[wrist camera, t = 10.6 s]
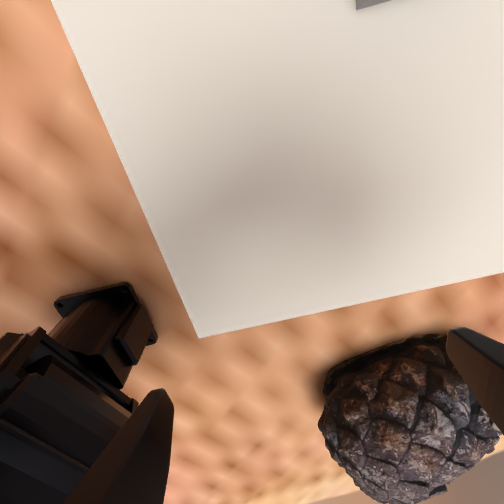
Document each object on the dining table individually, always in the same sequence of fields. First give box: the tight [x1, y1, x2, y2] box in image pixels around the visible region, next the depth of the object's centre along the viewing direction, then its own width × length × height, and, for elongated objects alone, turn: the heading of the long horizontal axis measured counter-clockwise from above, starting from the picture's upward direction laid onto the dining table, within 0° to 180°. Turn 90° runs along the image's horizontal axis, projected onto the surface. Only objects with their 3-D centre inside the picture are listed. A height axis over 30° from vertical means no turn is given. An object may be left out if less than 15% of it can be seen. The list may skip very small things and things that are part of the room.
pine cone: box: [318, 334, 502, 504], centre depth 23 cm, size 10×18×10 cm, turn 125°
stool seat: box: [51, 0, 504, 338], centre depth 15 cm, size 25×25×4 cm
